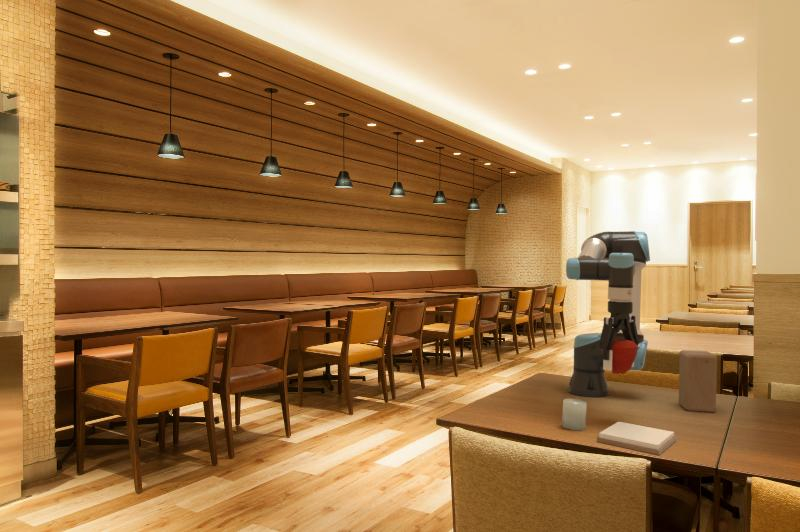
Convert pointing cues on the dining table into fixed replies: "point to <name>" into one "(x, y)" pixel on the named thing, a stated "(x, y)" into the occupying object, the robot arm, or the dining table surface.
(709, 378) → the wooden block
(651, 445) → the stand
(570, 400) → the white pillar candle
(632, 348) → the apple
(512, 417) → the dining table surface
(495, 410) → the dining table surface
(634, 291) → the robot arm
